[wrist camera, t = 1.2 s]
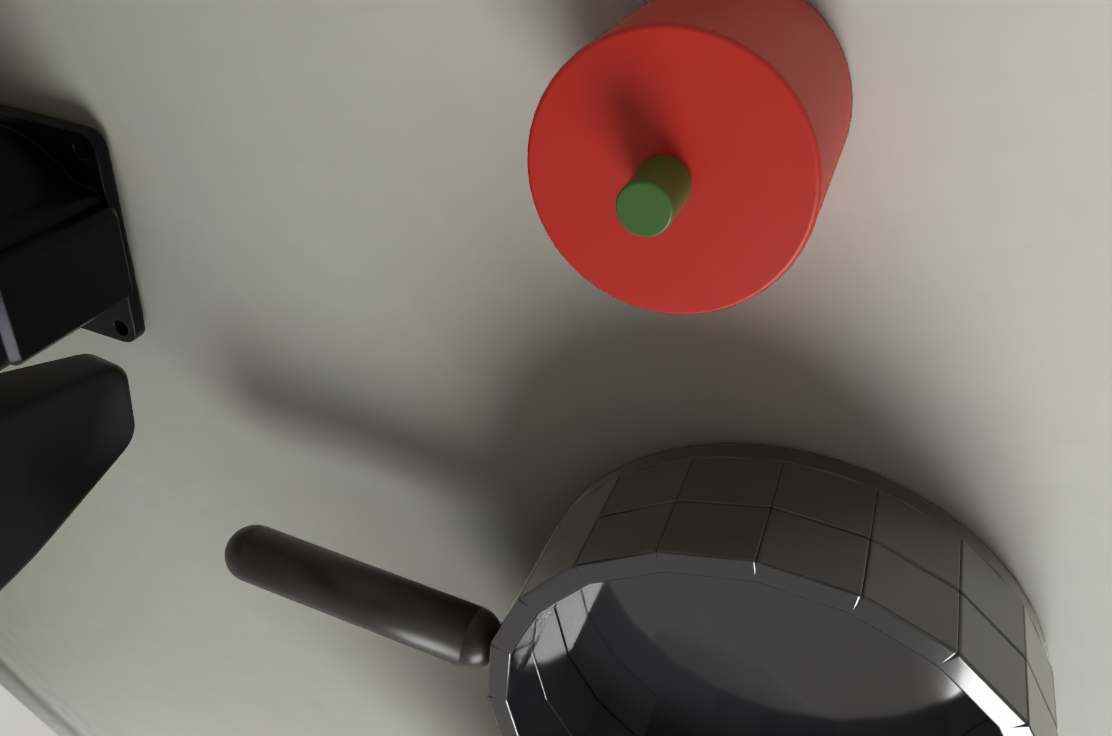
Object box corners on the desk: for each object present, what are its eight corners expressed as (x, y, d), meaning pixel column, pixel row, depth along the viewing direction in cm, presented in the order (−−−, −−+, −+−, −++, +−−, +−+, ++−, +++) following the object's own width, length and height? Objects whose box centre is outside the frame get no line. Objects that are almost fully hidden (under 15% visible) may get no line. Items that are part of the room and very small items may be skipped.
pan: (531, 703, 30) (479, 811, 27) (566, 378, 23) (499, 476, 20) (947, 868, 27) (942, 1012, 24) (1149, 550, 19) (1182, 701, 16)
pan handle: (251, 545, 27) (216, 583, 26) (246, 506, 26) (208, 543, 25) (511, 644, 25) (486, 690, 24) (514, 604, 24) (488, 650, 23)
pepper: (594, 193, 20) (489, 307, 16) (621, -46, 17) (502, 13, 13) (817, 246, 19) (769, 385, 14) (885, -3, 16) (849, 79, 12)
